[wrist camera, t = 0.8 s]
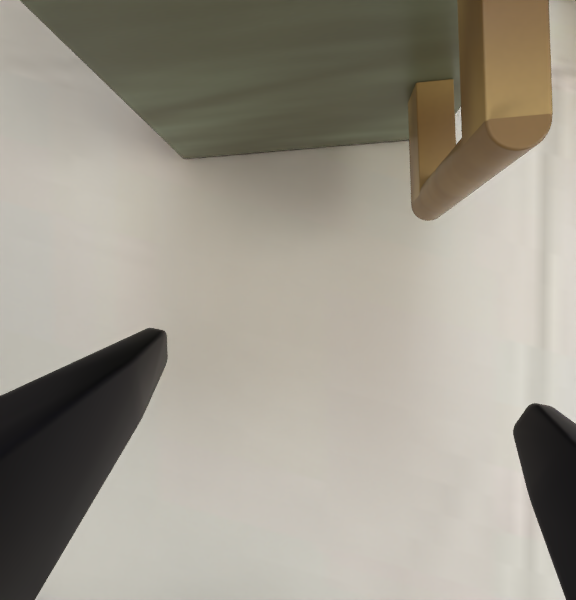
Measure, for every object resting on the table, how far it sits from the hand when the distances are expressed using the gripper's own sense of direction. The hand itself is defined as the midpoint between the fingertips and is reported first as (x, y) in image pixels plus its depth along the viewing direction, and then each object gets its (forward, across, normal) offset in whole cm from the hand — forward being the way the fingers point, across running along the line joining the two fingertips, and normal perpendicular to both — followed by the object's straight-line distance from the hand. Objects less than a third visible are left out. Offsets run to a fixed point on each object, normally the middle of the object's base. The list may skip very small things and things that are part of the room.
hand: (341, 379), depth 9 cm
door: (+16, +2, -1) cm, 16 cm away
